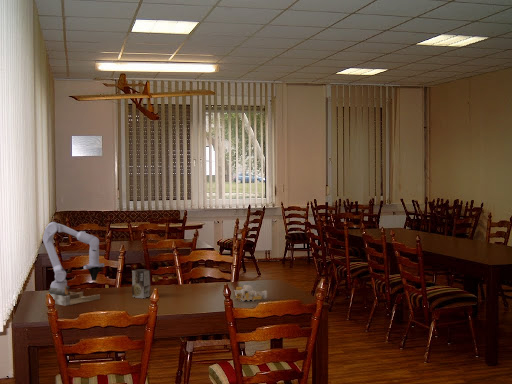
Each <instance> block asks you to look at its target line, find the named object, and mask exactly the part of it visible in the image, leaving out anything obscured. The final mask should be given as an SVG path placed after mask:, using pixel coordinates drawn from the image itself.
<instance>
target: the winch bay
mask: <svg viewBox="0 0 512 384" xmlns="http://www.w3.org/2000/svg"><path fill="white" fill-rule="evenodd" d="M69 290H70V286H68V285H67V286H65V290H64V289H57V288H49V289H48V292H47V293H46V295H47V294H50V295H51V296H52V297H53V299H54V300H55V305H59V306H64V307H66V306H70V305H75V304H80V303H87V302H92V301H98V300H101V294H93V295H87V296H84V291H79V292H77V293H81V298H76V299H71V300H70V296H69V295H67V294H68V292H69Z"/></svg>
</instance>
